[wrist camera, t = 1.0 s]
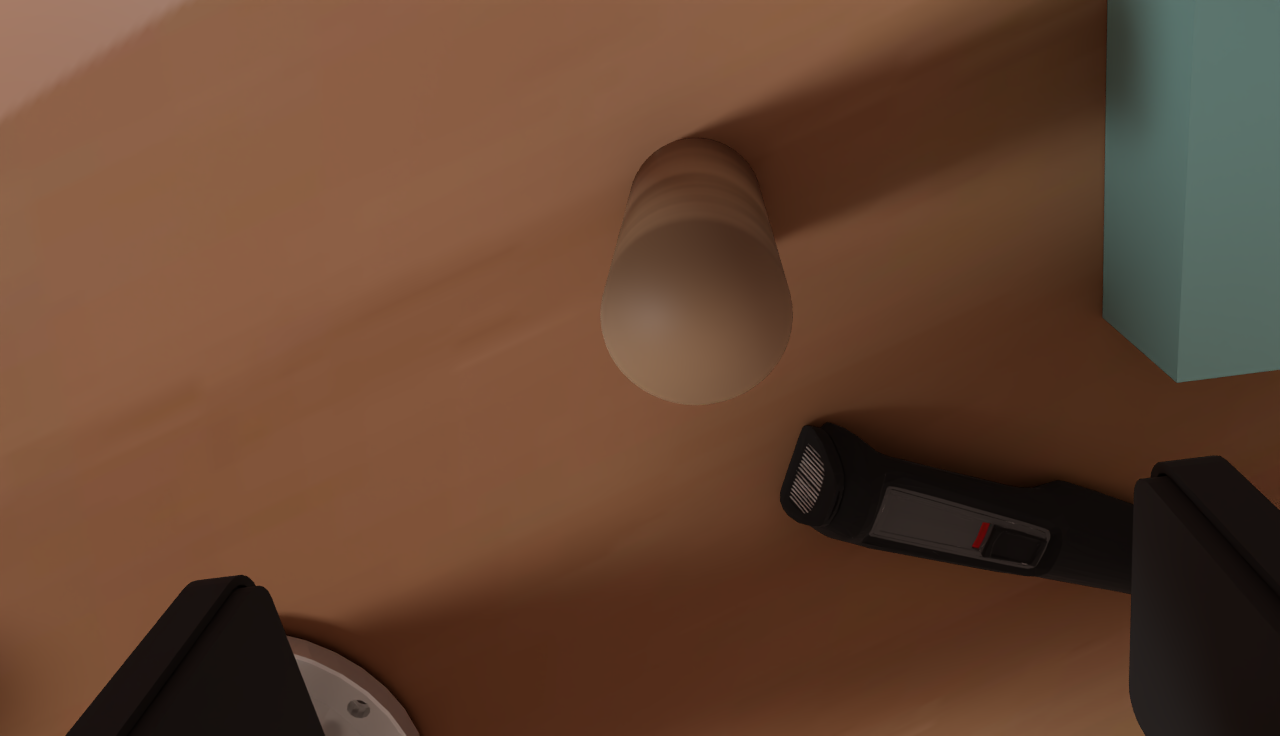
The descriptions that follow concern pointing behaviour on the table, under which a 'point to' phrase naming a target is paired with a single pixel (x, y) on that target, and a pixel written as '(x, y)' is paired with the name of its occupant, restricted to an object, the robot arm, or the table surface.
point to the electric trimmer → (957, 514)
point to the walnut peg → (696, 278)
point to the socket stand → (1194, 184)
